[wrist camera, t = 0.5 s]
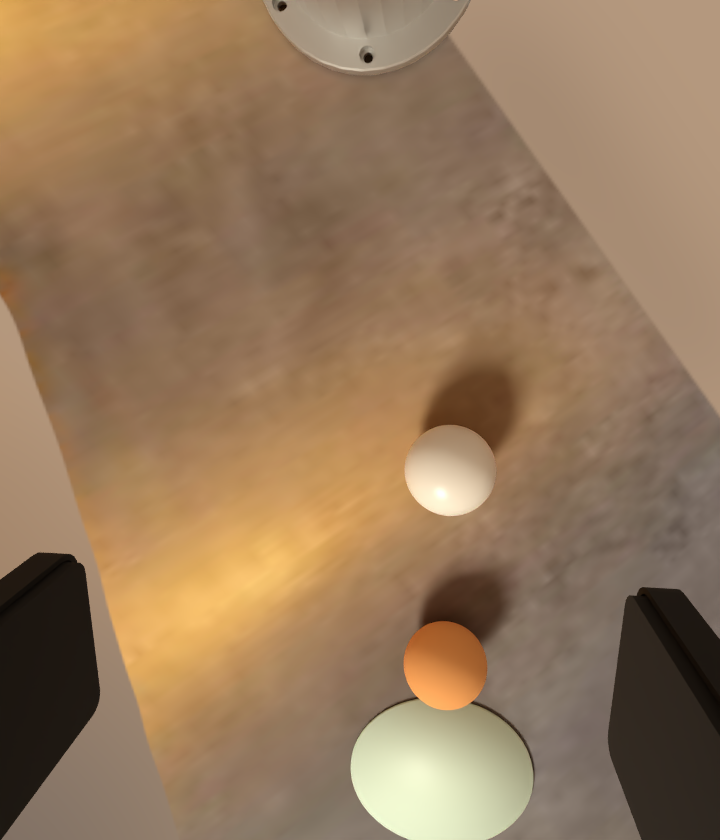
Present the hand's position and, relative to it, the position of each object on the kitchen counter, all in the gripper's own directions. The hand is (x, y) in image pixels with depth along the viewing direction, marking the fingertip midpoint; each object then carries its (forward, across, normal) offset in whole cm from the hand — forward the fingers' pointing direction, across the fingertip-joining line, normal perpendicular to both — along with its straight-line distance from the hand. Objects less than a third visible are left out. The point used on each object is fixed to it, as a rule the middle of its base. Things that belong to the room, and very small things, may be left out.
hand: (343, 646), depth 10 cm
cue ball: (+26, -3, +6) cm, 27 cm away
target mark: (+30, -4, +32) cm, 44 cm away
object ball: (+27, -3, +20) cm, 33 cm away
